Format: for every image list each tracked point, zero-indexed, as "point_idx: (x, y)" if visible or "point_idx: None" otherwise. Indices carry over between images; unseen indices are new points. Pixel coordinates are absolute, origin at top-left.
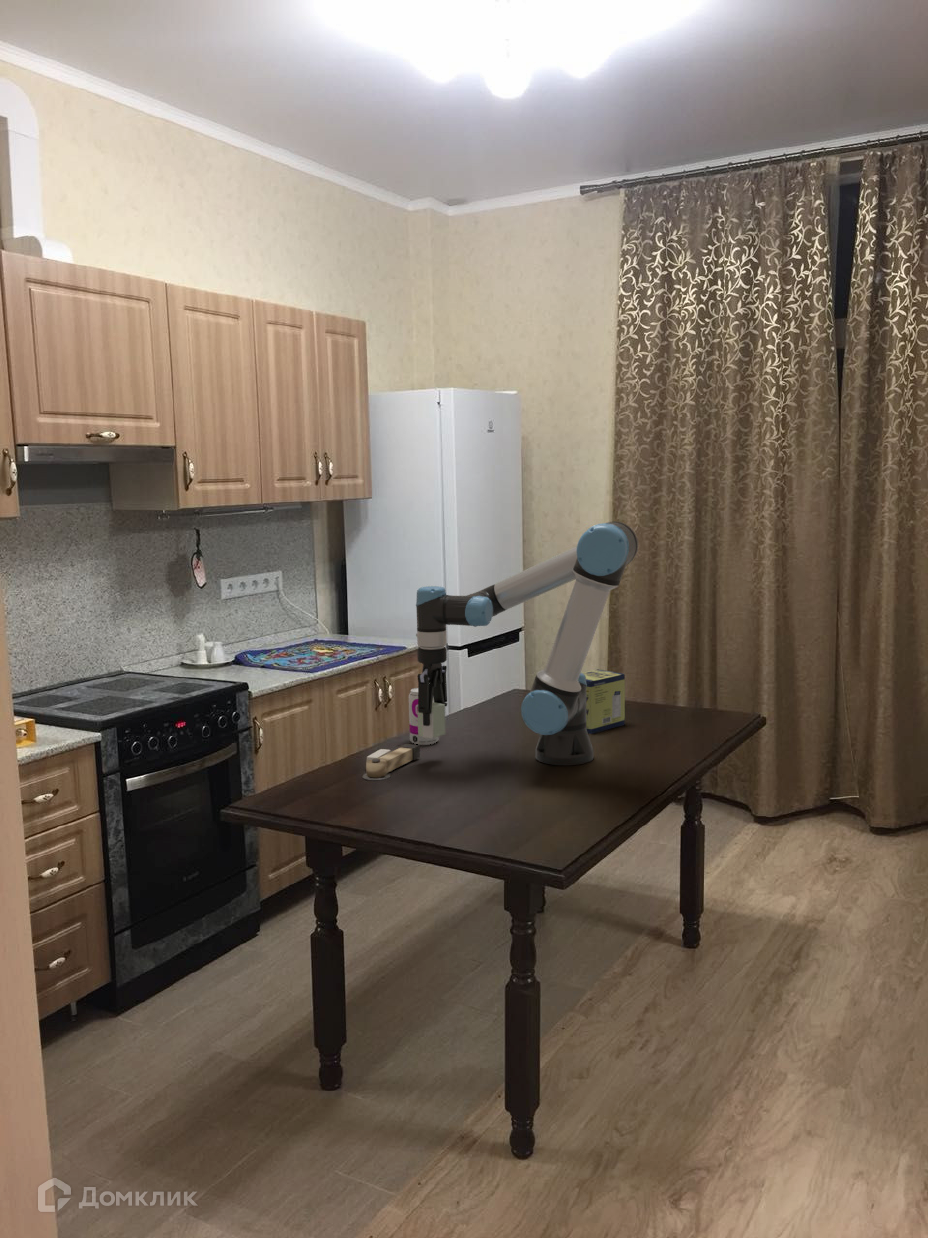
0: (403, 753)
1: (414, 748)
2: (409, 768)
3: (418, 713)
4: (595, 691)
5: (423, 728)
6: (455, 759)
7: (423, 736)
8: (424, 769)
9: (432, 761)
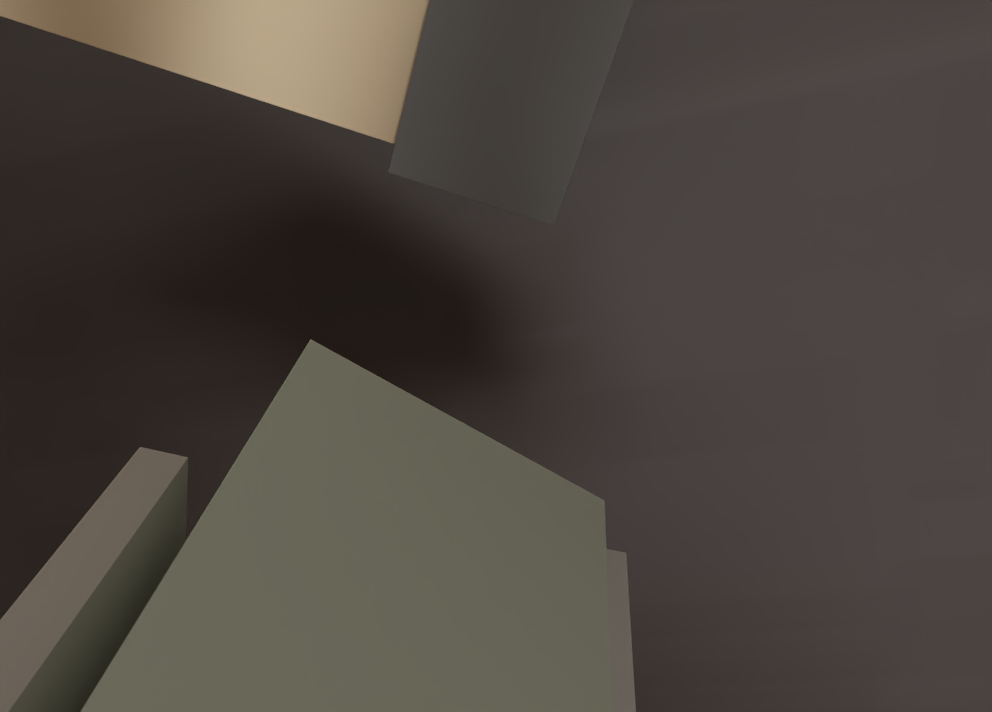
0: (136, 58)
1: (408, 175)
2: (158, 122)
3: (102, 682)
4: None
5: (60, 563)
6: None
7: (134, 465)
8: (171, 293)
9: (479, 323)
